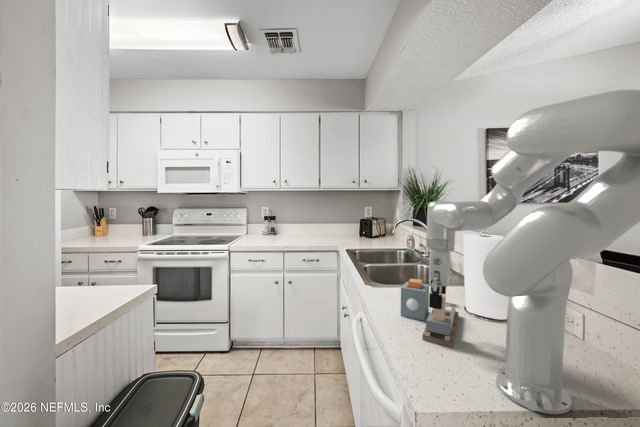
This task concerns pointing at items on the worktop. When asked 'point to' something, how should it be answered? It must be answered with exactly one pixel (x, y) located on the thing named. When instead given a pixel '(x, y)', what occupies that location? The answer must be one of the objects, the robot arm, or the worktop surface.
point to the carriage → (439, 320)
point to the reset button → (415, 283)
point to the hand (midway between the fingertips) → (437, 302)
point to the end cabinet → (415, 302)
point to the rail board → (443, 338)
